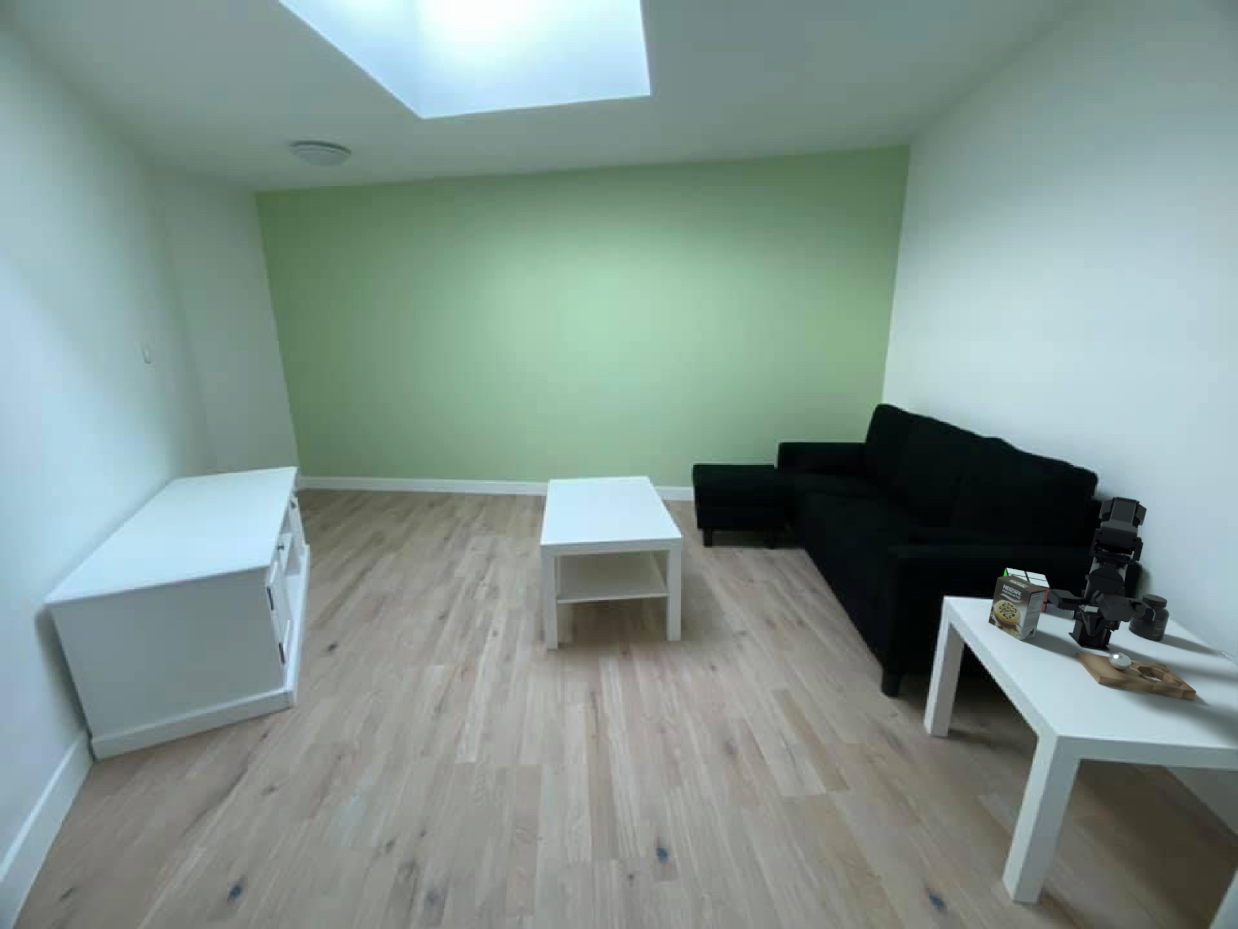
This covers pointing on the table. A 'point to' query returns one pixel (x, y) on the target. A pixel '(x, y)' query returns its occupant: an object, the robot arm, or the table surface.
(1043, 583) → the puzzle cube
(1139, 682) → the tan hexagonal hole board
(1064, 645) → the table surface
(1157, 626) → the supplement bottle
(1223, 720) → the table surface
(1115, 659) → the ball
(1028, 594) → the coffee box
